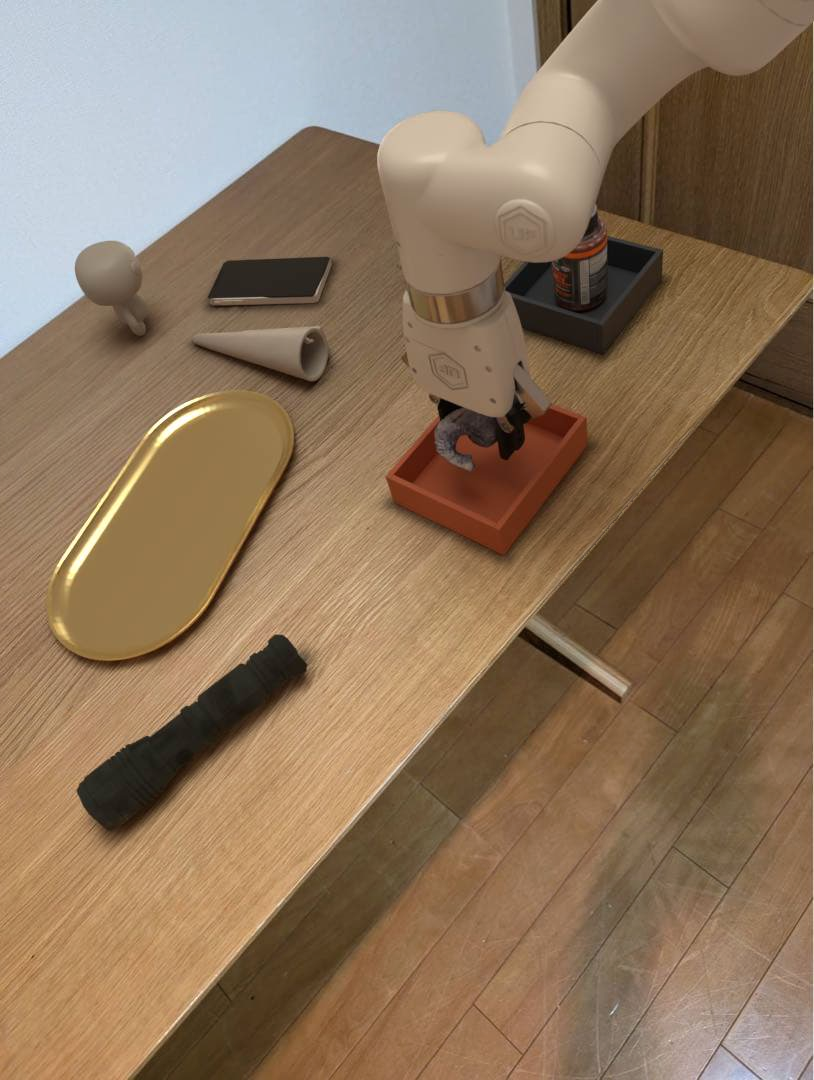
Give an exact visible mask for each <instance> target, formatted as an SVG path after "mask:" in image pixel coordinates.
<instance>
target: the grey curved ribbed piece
mask: <svg viewBox="0 0 814 1080" xmlns="http://www.w3.org/2000/svg"><path fill="white" fill-rule="evenodd" d="M511 409H512V407H511ZM499 426H500V425H499V423H498V422H497V420H496V418H495V417H490V416H486V415H483V414H480V413H477V412H475V411H472V410H470V409H467V408H461V409H457V410H456V411H453V412H452V413H450V414H449V415H447V416H446V417H445V418H444V419H442V421H440V422H438V423H437V427H436V428H435V433H434V436H435V442H434V443H435V446H436V452H437V453H438V454H439V455H440V456H442V457H443V458H445V459H446V460H447V461H449V462H450V463H451V464H454V465H456V466H458V467H460V468H463V469H465V470H468V471H470V472H471V471H472V470H473V469H475V468H476V466H475V465H474V464H473V463H472V461H471V459H472V457H471V454H470V455H463V454H461V453H459V452H457V451H456V443H457V440H458V439H459V437H460V436H462V435H467V436H468V438H469V439H470V440H471V441H472V442H473V443H474V444H476V445H478V446H480V447H484V448H488V447H490V446H492V445H494V444H495V443H496V442H497V436H496V430H497V428H498V427H499Z"/></svg>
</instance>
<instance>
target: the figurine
mask: <svg viewBox="0 0 814 1080" xmlns="http://www.w3.org/2000/svg"><path fill="white" fill-rule="evenodd" d="M74 274H75V278H76V281H77V283H78V286H79V288H80V290H81V291H82V293H83V294H84V295H85V296H86V298H87V299H88V300H89V301H91V302H92V303H93V304H96V305H98V306H102V307H112V309H113V311H114V314H115V315H116V317H117V319H118V320H120V321H121V322H122V323H123V324H126V325H128V327H129V329H130V330H131V332H132V333H133V334H134V335H136V336H138V337H143V336H144V335H146V333H147V328H146V324H145V322H144V320H145V318H146V317H147V315H148V306H147V302H146V301H145V299H144V298H143V297H142V296H141V295H139V293H138V292H139V291H140V289H141V288H142V284H143V271H142V268H141V265H140V262H139V260H138V258H137V256H136V254H135V252H134V251H133V249H132V248H131V247H130V246H129V245H127V244H125V243H123V242H121V241H119V240H103V241H99V242H97V243H93V244H90V245H89V246H86V247H85V248H84V249H82V250H81V251H80V252H79V253H78V255H77V257H76V259H75V262H74Z"/></svg>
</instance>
